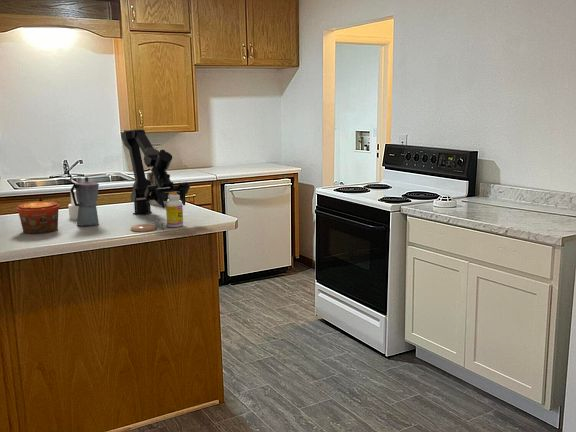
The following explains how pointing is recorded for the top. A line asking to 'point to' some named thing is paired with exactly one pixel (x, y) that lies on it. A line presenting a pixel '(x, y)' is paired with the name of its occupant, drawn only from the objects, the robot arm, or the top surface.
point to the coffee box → (151, 185)
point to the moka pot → (86, 202)
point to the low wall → (159, 224)
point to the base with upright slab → (73, 207)
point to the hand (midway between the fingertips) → (174, 206)
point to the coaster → (143, 227)
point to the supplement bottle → (174, 211)
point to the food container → (39, 217)
